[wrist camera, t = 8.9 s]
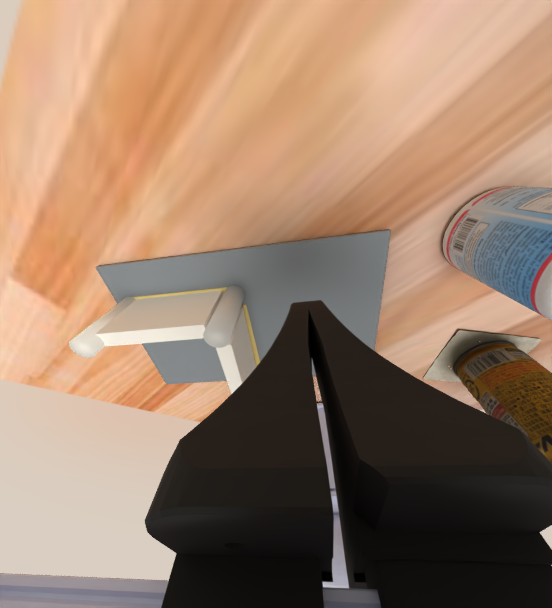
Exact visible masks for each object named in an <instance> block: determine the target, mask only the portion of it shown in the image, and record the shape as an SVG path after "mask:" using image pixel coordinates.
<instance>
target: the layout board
mask: <svg viewBox="0 0 552 608" xmlns="http://www.w3.org/2000/svg"><path fill="white" fill-rule="evenodd" d="M390 233H391V230H389V229H388V230H380V231H372V232H364V233H356V234H348V235H340V236H332V237H324V238H316V239H308V240H300V241H292V242H284V243H276V244H268V245H260V246H252V247H244V248H236V249H228V250H220V251H212V252H204V253H196V254H188V255H180V256H172V257H164V258H156V259H148V260H140V261H132V262H124V263H116V264H108V265H100V266H97V267H96V269H97V271H98V272H99V274H100V276H101V277H102V279H103V281H104V282H105V284H106V286H107V287H108V289H109V290H110V292H111V294H112V295H113V297H114V299H115V300H116V302H117V304H118V303H119V302H121V301H122V300H123V299H125V298H126V297H133V298H135V299H142V298H152V297H161V296H171V295H181V294H190V293H200V292H209V291H219V290H222V291H223V294H224V292H225V290H226V289H227V288H228V287H229V286H232V285H235V286H238V287H240V288H242V290H243V291H244V293H245V297H244V300H243V303H242V306H241V307H243V310H244V314H245V319H246V323H247V328H248V332H249V337H250V341H251V346H252V350H253V355H254V359H255V364H256V367H257V365H258V364H259V363H260V362H261V360H262V359H263V357H264V356H265V355H266V353H267V352H268V350H269V349H270V347H271V346H272V344H273V342H274V341H275V339H276V337H277V336H278V334H279V332H280V330H281V328H282V326H283V324H284V322H285V320H286V318H287V315H288V313H289V310H290V305H291V304H292V303H295V302H305V301H316V300H321V301H323V302H324V304H325V305H326V306H327V307H328V309H329V310H330V311H331V312H332V313H333V314H334V315H335V316H336V317H337V319H338V320H339V321H340V322H341V323H342V324H343V325H344V326H345V327H346V328H347V329H349V330H350V331H351V332H352V333H353V334H354V335H355V336H356V337H357V338H359V339H360V340H361V341H362V342H363V343H365V344H366V345H367V346H368V347H370V348H371V349H372V350H375V342H376V335H377V328H378V321H379V313H380V306H381V299H382V291H383V284H384V277H385V270H386V262H387V255H388V248H389V240H390ZM142 345H143V346H144V348H145V350H146V351H147V353H148V355H149V356H150V358H151V360H152V361H153V363H154V364H155V366H156V368H157V369H158V371H159V373H160V374H161V376H162V378H163V379H164V381H165V383H166V384H179V383H196V382H213V381H227V380H226V377H225V374H224V371H223V368H222V365H221V362H220V359H219V356H218V353H217V350H216V347H212V346H210V345H208V344H207V343H206V342H205V340H204V338H202V339H190V340H177V341H165V342H153V343H142ZM315 375H316V373H315V369H314V365H313V360H312V376H315Z"/></svg>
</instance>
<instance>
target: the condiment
mask: <svg viewBox="0 0 552 608" xmlns="http://www.w3.org/2000/svg"><path fill="white" fill-rule="evenodd" d="M541 340H542V339H536V338H529V337H519V336H513V335H501V334H490V333H483V332H469V331H462V330H459V331H458V332H457V333H456V335H455V336H454V337H452V339H451V340H450V342H449V343H448V344H447V346H446V347H445V348H444V349H443V350H442V352H441V353H440V355H439V356H438V358H436V359H435V361H434V363H433V365H432V366H431V368H430V369H429V370H428V372H427V374H426V375H425V376H424V378H423V379H429V380H438V381H448V382H462V383H463V384H464V386H465V387H466V388H468V391H469V392H470V393H471V394H472V395H473V397H474V398H475V399H476V400H477V401H478V402H479V403H480V405H481V406H482V407H483V409H484V410H485V412H486V413H487V414H489V415H490V416H492V417H495V418H497V419H499V420H501V421H503V422H505V423H507V424H510V425H512V426H514V427H516V428H518V429H519V430H520V431H521V432H522V433H523V434H524V435H525V436H526V437H527V438H528V439H529V440H530V441H531V442H532V443H533V444H534V445H535V446H536V447H537V448H538V449H539V450H540V451H541V452H542V453H543V454H544V455H545V457H546V458H547V459H548V460H549V461H550V462H551V463H552V373H551V372H550V371H548V370H547V369H545V368H544V367H543V366H542V365H540V364H539V363H538V362H536V361H535V360H534V359H532V358H531V357H530V356H529V355H527V353H529V352H530V351H531V350H532V349H533V348H534V347H535V346H536V345H537V344H538V343H539V342H540V341H541ZM479 341H481V342H479ZM448 365H449V366H450V368H452V369H450V368H449V367H448Z"/></svg>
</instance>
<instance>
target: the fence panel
mask: <svg viewBox="0 0 552 608" xmlns="http://www.w3.org/2000/svg"><path fill="white" fill-rule="evenodd" d="M216 350H217V353H218V356H219V359H220V362H221V365H222V368H223V371H224V374H225V377H226V380H227V383H228V386H229V388H230V391H231V394H232V393H233V392H234V391H235V390H236V389H237V388H238V387H239V386H240V385H241V384H242V383H243V382H244V381H245V380H246V379H247V377H248V376H249V375H250V374H251V373H252V371H253V370H254V369H255V368H256V364H255V359H254V355H253V350H252V346H251V341H250V337H249V332H248V328H247V323H246V319H245V314H244V310H243V307H241V309H240V312H239V315H238V318H237V321H236V324H235V327H234V330H233V333H232V336H231V339H230V342H229V344H228V345H227V346H225V347H222V348H216Z"/></svg>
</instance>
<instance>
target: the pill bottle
mask: <svg viewBox="0 0 552 608" xmlns="http://www.w3.org/2000/svg"><path fill="white" fill-rule="evenodd" d="M443 252H444V255H445V257H446V259H447V260H448V262H449V263H450V264H451V265H453V266H454V267H456V268H457V269H459V270H461V271H462V272H464V273H466V274H468V275H469V276H471V277H473V278H475V279H477V280H479V281H480V282H482V283H484V284H486V285H487V286H489V287H491V288H493V289H495V290H496V291H498V292H500V293H502V294H504V295H506V296H508V297H509V298H511V299H513V300H515V301H517V302H518V303H520V304H522V305H524V306H526V307H528V308H529V309H531V310H533V311H535V312H537V313H539V314H540V315H542V316H544V317H545V318H548V319H550V320H552V188H537V187H502V188H497V189H493V190H490V191H488V192H486V193H483V194H481V195H480V196H478V197H476V198H475V199H473V200H472V201H470V202H469V203H468V204H466V205H465V206H464V207H463V208H462V209H461V210H460V211H459V212H458V213H457V214H456V215H455V217H454V218H453V219H452V221H451V223H450V224H449V226H448V228H447V230H446V232H445V235H444V239H443Z"/></svg>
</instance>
